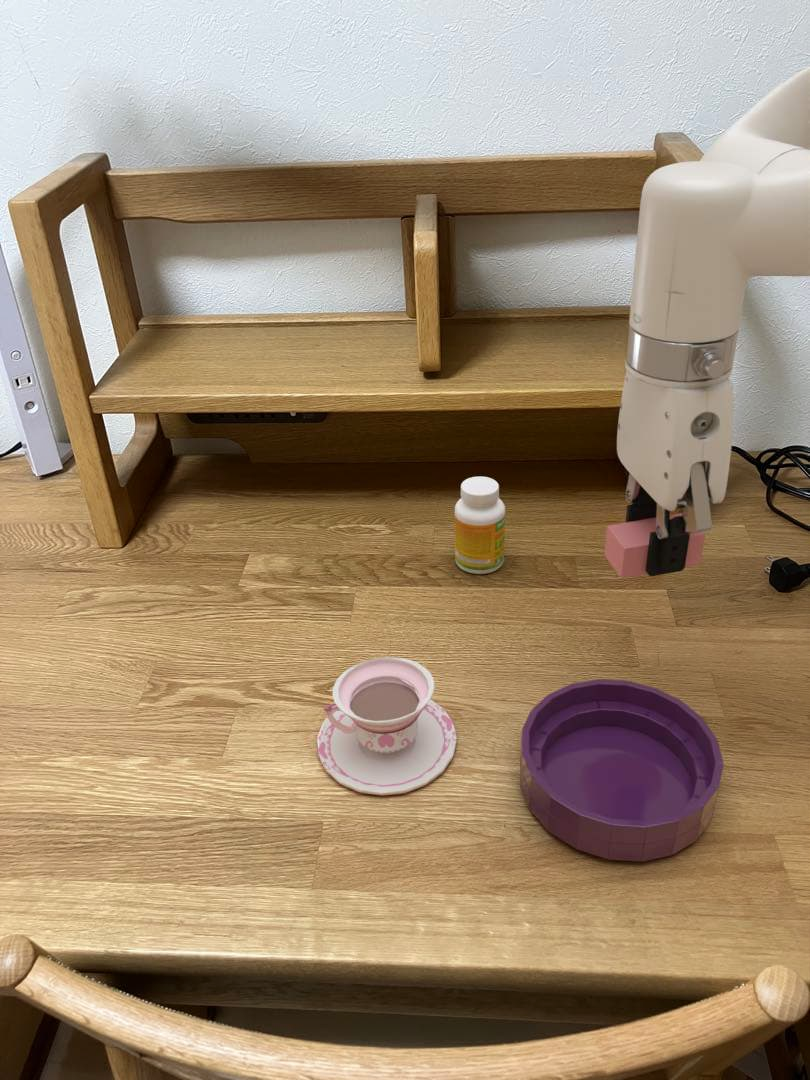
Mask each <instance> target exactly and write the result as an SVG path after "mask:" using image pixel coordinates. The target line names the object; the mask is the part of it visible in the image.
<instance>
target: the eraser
mask: <svg viewBox="0 0 810 1080" xmlns="http://www.w3.org/2000/svg"><path fill="white" fill-rule="evenodd" d="M677 516H682V512H681V513H679V512H678V513H674V514H670V519H672V518H674V517H677ZM655 531H656V518H650V519H644V520H638V521H633V522H627V523H625V522H621V523H615V524H610V525H606V533H605V544H604V553H603V554H604V557H605V558H606V559H607V561H608V563H609V564H610V565H611V566H612V568H613V569H614V571H615V572H616V573H617V576H618V577H619V578H620V579H626V578H632V577H639V576H643V575H648V573H647V572H646V563H647V555H648V547H649V539H650V533H651V532H655ZM704 532H705V531H701V532H696V533H693V534H690V538H689V544H688V551H687V557H686V564H685V568H688V567H694V566H699V565H701V564H702V563H701V562H702V558H703V551H704V546H705V545H704V544H705V540H706V533H704Z"/></svg>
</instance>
